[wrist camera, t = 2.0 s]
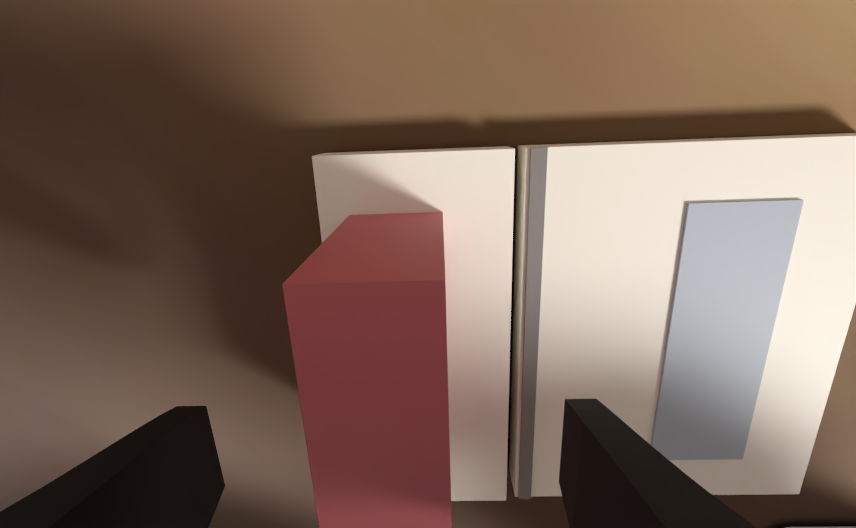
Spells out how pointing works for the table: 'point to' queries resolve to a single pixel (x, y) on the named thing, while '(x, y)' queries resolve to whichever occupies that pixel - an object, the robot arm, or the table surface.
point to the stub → (406, 334)
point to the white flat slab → (683, 300)
